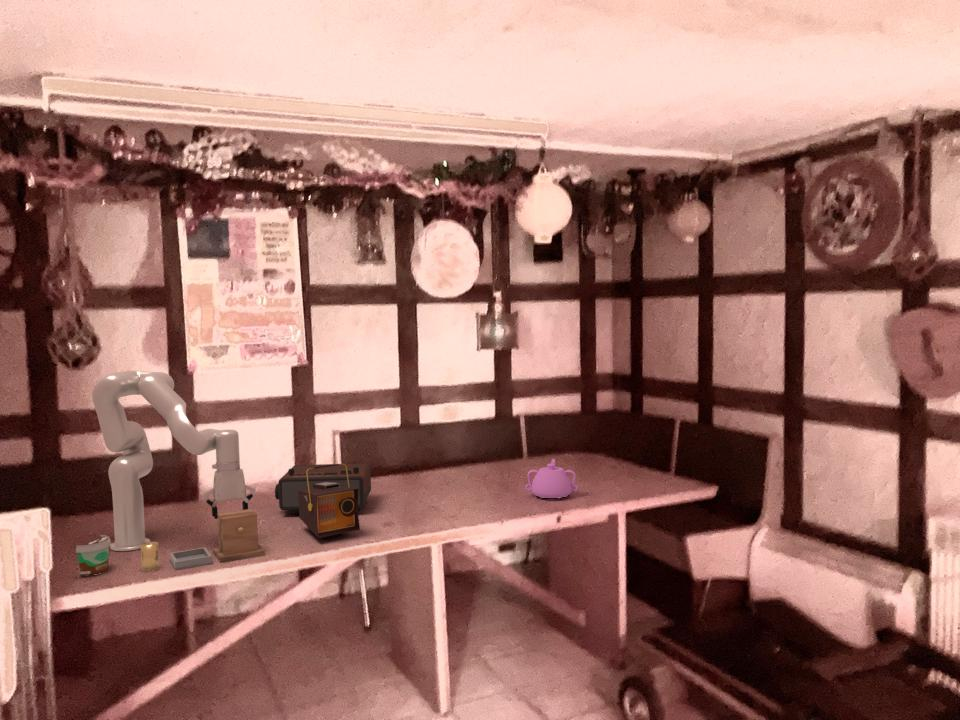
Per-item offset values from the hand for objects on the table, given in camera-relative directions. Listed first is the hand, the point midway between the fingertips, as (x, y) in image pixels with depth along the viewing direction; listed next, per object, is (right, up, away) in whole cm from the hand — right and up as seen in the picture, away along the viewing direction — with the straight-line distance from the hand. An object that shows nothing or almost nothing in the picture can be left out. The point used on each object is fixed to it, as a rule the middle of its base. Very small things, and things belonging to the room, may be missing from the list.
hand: (230, 515), depth 265 cm
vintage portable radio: (+31, -9, +12) cm, 34 cm away
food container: (-33, -13, -24) cm, 43 cm away
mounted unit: (+6, -11, -9) cm, 15 cm away
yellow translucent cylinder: (-18, -12, -22) cm, 31 cm away
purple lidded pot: (+116, -4, +62) cm, 131 cm away
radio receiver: (+22, -7, +49) cm, 54 cm away
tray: (-7, -12, -16) cm, 21 cm away
